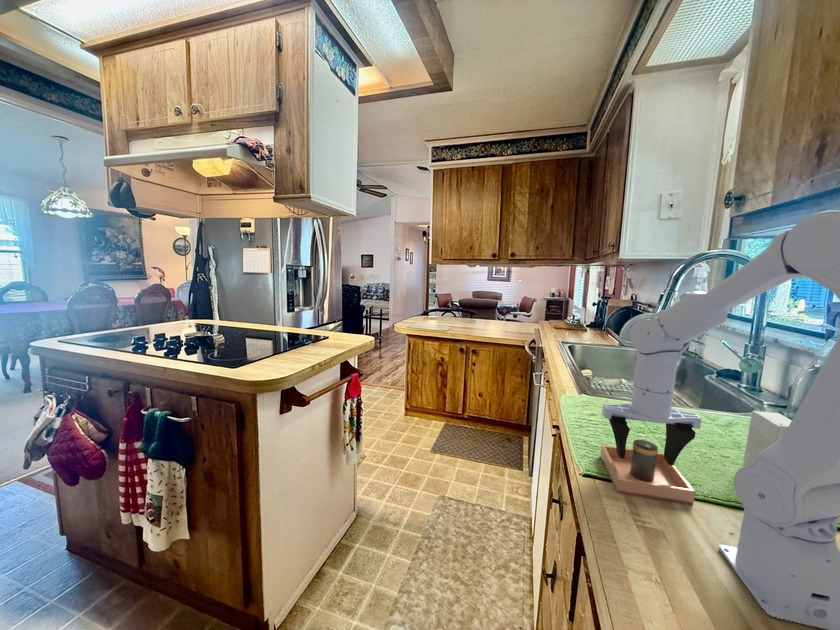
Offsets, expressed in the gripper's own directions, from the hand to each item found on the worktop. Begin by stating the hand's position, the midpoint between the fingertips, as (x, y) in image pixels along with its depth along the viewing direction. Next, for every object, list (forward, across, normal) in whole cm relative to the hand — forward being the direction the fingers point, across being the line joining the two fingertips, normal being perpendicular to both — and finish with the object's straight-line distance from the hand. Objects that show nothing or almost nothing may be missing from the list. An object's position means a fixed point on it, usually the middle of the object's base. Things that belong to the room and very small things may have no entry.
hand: (644, 458), depth 60 cm
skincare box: (+4, -22, -5) cm, 22 cm away
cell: (+3, 0, 0) cm, 3 cm away
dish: (+4, 0, 0) cm, 4 cm away
